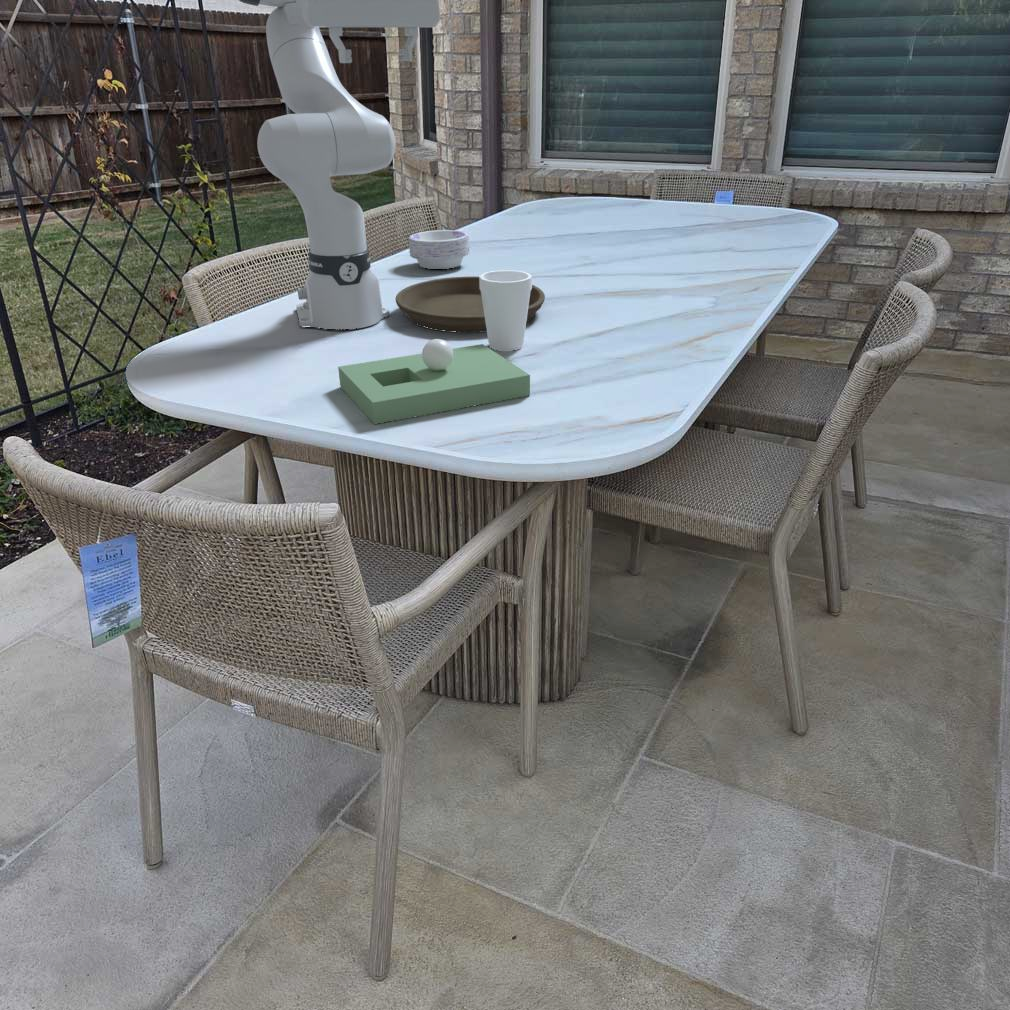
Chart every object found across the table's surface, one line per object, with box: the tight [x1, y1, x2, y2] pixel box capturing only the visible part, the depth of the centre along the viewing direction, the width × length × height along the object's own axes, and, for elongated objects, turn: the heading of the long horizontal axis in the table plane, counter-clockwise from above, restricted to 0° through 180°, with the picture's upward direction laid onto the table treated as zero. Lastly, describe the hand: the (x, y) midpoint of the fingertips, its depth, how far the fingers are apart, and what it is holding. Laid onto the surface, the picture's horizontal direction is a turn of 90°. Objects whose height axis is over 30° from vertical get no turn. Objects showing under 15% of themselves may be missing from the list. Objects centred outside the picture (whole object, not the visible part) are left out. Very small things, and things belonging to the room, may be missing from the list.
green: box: [337, 343, 531, 425], centre depth 138 cm, size 18×26×4 cm
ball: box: [421, 338, 453, 371], centre depth 137 cm, size 5×5×5 cm
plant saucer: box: [395, 275, 546, 333], centre depth 178 cm, size 31×31×5 cm
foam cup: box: [478, 269, 533, 352], centre depth 157 cm, size 10×9×13 cm
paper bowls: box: [408, 229, 470, 270], centre depth 217 cm, size 15×15×8 cm
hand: (376, 62), depth 128 cm, fingers open, 8 cm apart
